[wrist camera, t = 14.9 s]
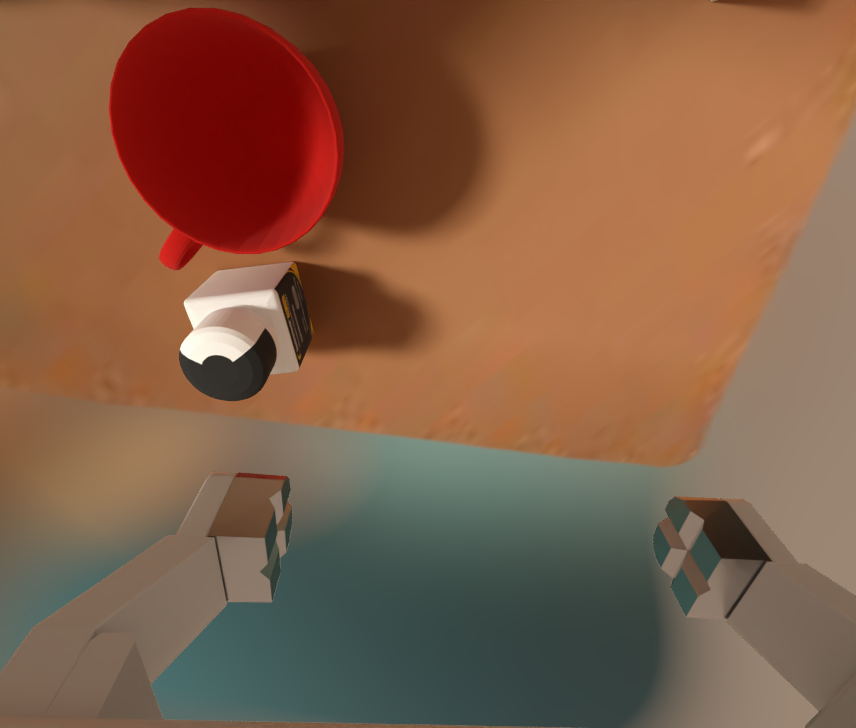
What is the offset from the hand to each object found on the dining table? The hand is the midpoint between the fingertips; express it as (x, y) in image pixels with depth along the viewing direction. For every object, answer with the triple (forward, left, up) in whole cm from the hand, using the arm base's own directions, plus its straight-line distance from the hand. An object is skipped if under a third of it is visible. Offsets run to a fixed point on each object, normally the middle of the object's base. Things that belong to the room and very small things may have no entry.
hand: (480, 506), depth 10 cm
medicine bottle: (-7, -16, -33) cm, 38 cm away
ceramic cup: (-13, -5, -33) cm, 36 cm away
